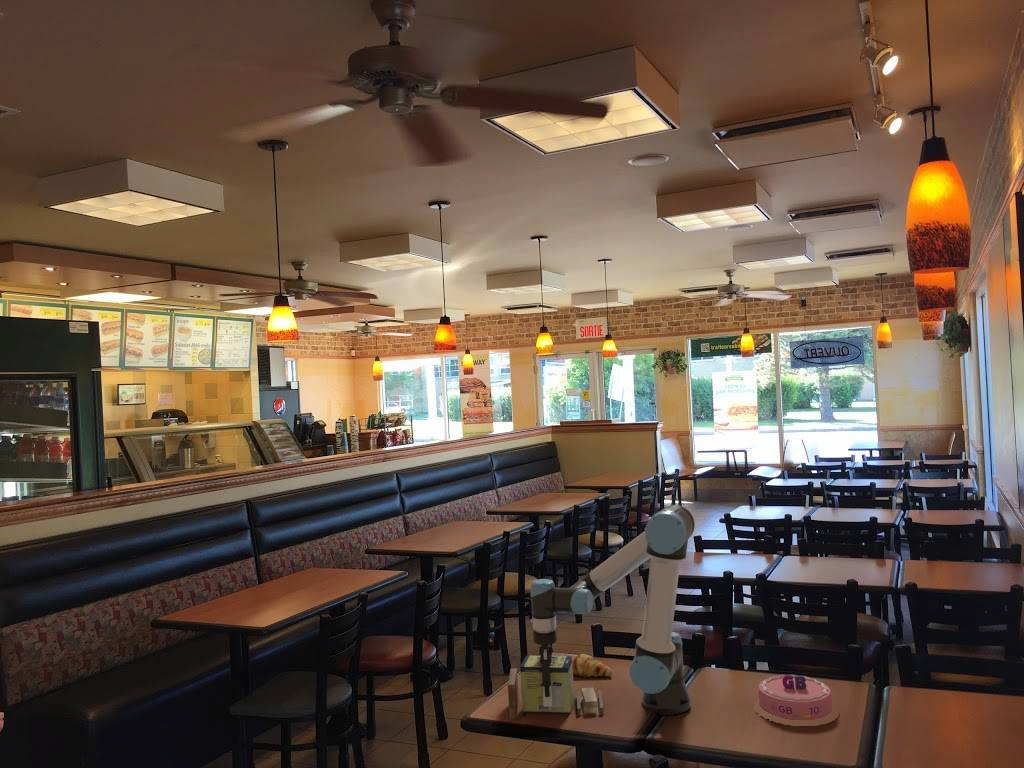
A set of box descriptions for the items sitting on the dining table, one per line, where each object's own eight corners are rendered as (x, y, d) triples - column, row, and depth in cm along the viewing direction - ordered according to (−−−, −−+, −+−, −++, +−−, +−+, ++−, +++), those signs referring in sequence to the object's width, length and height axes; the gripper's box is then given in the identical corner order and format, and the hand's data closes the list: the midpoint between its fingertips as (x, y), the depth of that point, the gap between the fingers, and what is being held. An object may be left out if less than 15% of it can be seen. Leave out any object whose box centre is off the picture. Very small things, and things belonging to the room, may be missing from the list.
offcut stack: (596, 697, 257) (595, 686, 257) (597, 713, 245) (597, 701, 245) (582, 698, 257) (581, 687, 257) (583, 713, 245) (582, 701, 245)
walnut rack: (601, 699, 257) (599, 665, 257) (603, 717, 243) (601, 681, 243) (512, 702, 259) (510, 668, 259) (509, 720, 245) (507, 684, 245)
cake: (753, 725, 233) (751, 689, 233) (751, 692, 257) (750, 659, 257) (844, 730, 227) (842, 693, 227) (834, 696, 251) (832, 662, 251)
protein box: (527, 702, 258) (525, 654, 258) (575, 703, 255) (572, 655, 255) (521, 716, 248) (519, 666, 248) (571, 717, 245) (568, 667, 245)
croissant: (616, 684, 279) (619, 661, 282) (605, 680, 271) (609, 656, 274) (562, 675, 289) (566, 652, 292) (550, 670, 282) (554, 647, 285)
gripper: (534, 618, 263) (537, 684, 263) (531, 641, 240) (535, 714, 240) (556, 618, 263) (560, 684, 263) (556, 641, 240) (560, 713, 240)
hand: (548, 698), depth 252 cm, fingers closed on protein box, 11 cm apart
